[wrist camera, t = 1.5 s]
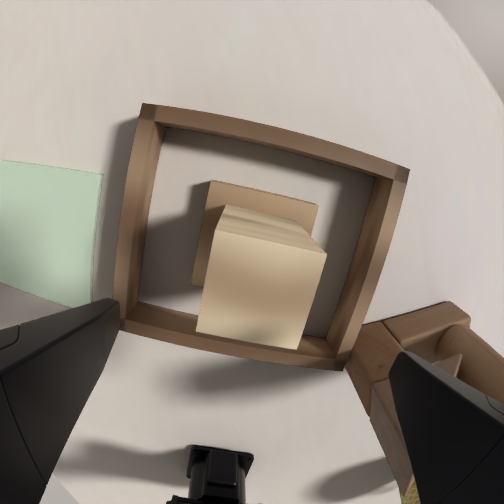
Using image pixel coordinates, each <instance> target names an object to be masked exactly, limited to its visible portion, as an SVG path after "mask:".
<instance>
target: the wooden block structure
mask: <svg viewBox="0 0 504 504" xmlns="http://www.w3.org/2000/svg"><path fill="white" fill-rule="evenodd" d="M470 321H471V318H470V316H469V315H468V314H467V313H465V312H464V311H463V310H462V309H460V308H459V307H458V306H456V305H455V304H454V303H452V302H450V301H448V302H445V303H442V304H438V305H435V306H432V307H429V308H425V309H422V310H419V311H415V312H412V313H409V314H405V315H402V316H398V317H394V318H391V319H387V320H384V321H383V324H382V322H375V323H371V324H367V325H363V326H361V329H360V331H359V334H358V336H357V339H356V341H355V343H354V346H353V348H352V351H351V353H350V355H349V358H348V360H347V362H346V364H345V368H346V370H347V372H348V374H349V376H350V378H351V380H352V383H353V385H354V387H355V389H356V391H357V393H358V396H359V398H360V400H361V402H362V404H363V406H364V409H365V411H366V413H367V415H368V416H369V417H370V422H371V424H372V426H373V429H374V431H375V433H376V435H377V438H378V440H379V442H380V444H381V447H382V449H383V451H384V453H385V456H386V458H387V460H388V463H389V465H390V467H391V470H392V472H393V474H394V477H395V479H396V481H397V484H398V486H399V488H400V491H401V493H402V495H403V496H406V495H407V493H408V492H409V490H410V488H411V486H412V484H413V483H414V481H415V479H414V475H413V471H412V467H411V463H410V460H409V456H408V452H407V449H406V445H405V442H404V438H403V435H402V431H401V428H400V425H399V421H398V418H397V414H396V410H395V406H394V401H393V396H392V391H391V386H390V382H389V376H388V375H389V370H390V368H391V366H392V364H393V362H394V361H395V359H396V357H397V355H398V353H399V352H401V351H408V352H412V353H414V354H416V355H417V356H419V357H421V358H423V359H424V360H426V361H428V362H429V363H431V364H433V365H435V366H436V367H438V368H440V369H442V370H443V371H445V372H447V373H449V374H450V375H452V376H454V377H456V378H457V379H459V380H461V381H463V382H464V383H466V384H468V385H470V386H471V387H473V388H475V389H477V390H478V391H480V392H482V393H484V394H485V395H487V396H489V397H491V398H492V399H494V400H496V401H498V402H500V403H501V404H503V405H504V358H503V357H502V356H501V355H500V354H499V353H498V352H496V351H495V350H494V349H493V348H492V347H491V346H490V345H489V344H487V343H486V342H485V341H484V340H483V339H482V338H480V337H479V336H478V335H477V334H476V333H475V332H473V331H472V330H471V329H470ZM439 361H440V362H439ZM436 362H437V363H436Z"/></svg>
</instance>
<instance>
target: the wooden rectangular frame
mask: <svg viewBox="0 0 504 504" xmlns="http://www.w3.org/2000/svg"><path fill="white" fill-rule="evenodd" d="M166 127H171V128H178V129H184V130H189V131H195V132H201V133H206V134H211V135H217V136H222V137H227V138H232V139H236V140H241V141H246V142H250V143H255V144H259V145H263V146H268V147H272V148H276V149H280V150H284V151H288V152H292V153H296V154H299V155H303V156H307V157H311V158H314V159H318V160H321V161H325V162H328V163H332V164H335V165H338V166H342V167H345V168H348V169H352V170H355V171H358V172H361V173H364V174H367V175H370V176H373V177H375V181H374V185H373V189H372V193H371V197H370V201H369V205H368V208H367V212H366V216H365V219H364V223H363V226H362V230H361V233H360V237H359V240H358V244H357V247H356V250H355V254H354V257H353V260H352V263H351V267H350V270H349V273H348V276H347V279H346V282H345V285H344V288H343V291H342V294H341V297H340V300H339V303H338V306H337V309H336V312H335V314H334V317H333V320H332V323H331V326H330V328H329V331H328V334H327V336H326V339H325V338H319V337H312V336H305V335H302V336H301V339H300V342H299V344H298V347H297V350H296V349H289V348H282V347H276V346H270V345H264V344H258V343H252V342H247V341H241V340H236V339H231V338H226V337H220V336H215V335H211V334H206V333H201V332H196V327H197V322H198V315H193V314H189V313H184V312H180V311H175V310H171V309H167V308H162V307H158V306H154V305H150V304H146V303H142V302H138V292H139V282H140V273H141V264H142V256H143V249H144V241H145V234H146V227H147V221H148V214H149V208H150V202H151V196H152V191H153V185H154V180H155V175H156V169H157V164H158V160H159V155H160V150H161V145H162V141H163V136H164V132H165V128H166ZM409 171H410V169H408V168H405V167H402V166H400V165H397V164H395V163H392V162H389V161H386V160H384V159H381V158H378V157H375V156H372V155H369V154H366V153H364V152H361V151H358V150H354V149H351V148H348V147H345V146H342V145H339V144H336V143H332V142H329V141H326V140H322V139H319V138H315V137H312V136H308V135H305V134H301V133H297V132H293V131H290V130H286V129H282V128H278V127H274V126H269V125H265V124H261V123H257V122H252V121H248V120H243V119H238V118H233V117H228V116H223V115H218V114H213V113H207V112H201V111H195V110H189V109H183V108H176V107H169V106H162V105H154V104H146V103H142V107H141V111H140V115H139V119H138V123H137V128H136V132H135V137H134V141H133V146H132V151H131V156H130V161H129V166H128V172H127V177H126V183H125V189H124V196H123V202H122V209H121V216H120V224H119V232H118V241H117V250H116V260H115V272H114V286H113V299H114V300H117V301H119V302H120V326H119V330H122V331H125V332H129V333H133V334H137V335H140V336H144V337H148V338H152V339H156V340H160V341H164V342H168V343H173V344H177V345H181V346H186V347H190V348H195V349H200V350H205V351H210V352H215V353H220V354H225V355H230V356H236V357H241V358H247V359H253V360H259V361H265V362H272V363H278V364H285V365H292V366H300V367H308V368H316V369H325V370H335V371H343V369H344V367H345V364H346V362H347V360H348V358H349V355H350V353H351V351H352V348H353V346H354V343H355V341H356V339H357V336H358V334H359V331H360V329H361V326H362V324H363V321H364V319H365V316H366V313H367V311H368V308H369V305H370V303H371V300H372V297H373V294H374V292H375V289H376V286H377V283H378V280H379V277H380V274H381V271H382V268H383V265H384V262H385V259H386V256H387V253H388V250H389V246H390V243H391V240H392V236H393V233H394V230H395V226H396V223H397V219H398V215H399V212H400V208H401V204H402V200H403V196H404V192H405V188H406V184H407V180H408V176H409ZM226 205H231V206H235V207H240V208H244V209H249V210H253V211H258V212H262V213H267V214H271V215H275V216H280V217H284V218H288V219H293V220H296V221H297V222H298V223H299V224H300V226H301V227H302V228H303V229H304V230H305V231H306V232H307V233H308V234H309V235H310V236H311V233H312V229H313V226H314V222H315V218H316V214H317V210H318V207H319V206H318V205H316V204H314V203H311V202H307V201H303V200H299V199H295V198H291V197H287V196H283V195H278V194H274V193H270V192H266V191H261V190H257V189H252V188H248V187H244V186H239V185H234V184H230V183H225V182H220V181H216V180H212V181H211V182H210V187H209V192H208V197H207V201H206V206H205V211H204V216H203V221H202V226H201V231H200V236H199V242H198V247H197V252H196V258H195V263H194V269H193V274H192V280H191V285H195V286H200V287H204V284H205V278H206V273H207V268H208V263H209V258H210V253H211V248H212V243H213V238H214V233H215V229H216V227H217V224H218V222H219V220H220V217H221V215H222V213H223V211H224V208H225V206H226Z"/></svg>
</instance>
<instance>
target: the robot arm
mask: <svg viewBox="0 0 504 504" xmlns="http://www.w3.org/2000/svg"><path fill="white" fill-rule="evenodd" d="M119 326H120V302H119V301H117V300H114V299H110V298H105V299H101V300H98V301H95V302H92V303H88V304H85V305H82V306H78V307H75V308H72V309H69V310H65V311H62V312H59V313H55V314H52V315H49V316H46V317H42V318H39V319H36V320H32V321H29V322H26V323H22V324H20V326H19V325H16V326H12V327H9V328H6V329H2V330H0V504H39V503H40V501H41V498H42V496H43V493H44V491H45V488H46V485H47V484H48V481H49V479H50V477H51V474H52V472H53V470H54V468H55V466H56V463H57V461H58V459H59V457H60V455H61V453H62V450H63V448H64V446H65V444H66V442H67V440H68V438H69V436H70V434H71V432H72V430H73V428H74V426H75V424H76V422H77V420H78V418H79V416H80V414H81V412H82V410H83V408H84V406H85V404H86V402H87V400H88V398H89V396H90V394H91V392H92V390H93V388H94V387H95V385H96V383H97V381H98V379H99V377H100V375H101V373H102V371H103V369H104V367H105V364H106V362H107V359H108V356H109V354H110V351H111V349H112V346H113V344H114V341H115V339H116V336H117V334H118V331H119ZM388 376H389V382H390V386H391V391H392V396H393V401H394V406H395V410H396V414H397V418H398V421H399V425H400V428H401V431H402V435H403V438H404V442H405V445H406V449H407V452H408V456H409V460H410V463H411V467H412V471H413V475H414V479H415V483H416V487H417V491H418V495H419V500H420V504H504V405H503V404H501V403H500V402H498V401H496V400H494V399H492V398H491V397H489V396H487V395H485V394H484V393H482V392H480V391H478V390H477V389H475V388H473V387H471V386H470V385H468V384H466V383H464V382H463V381H461V380H459V379H457V378H456V377H454V376H452V375H450V374H449V373H447V372H445V371H443V370H442V369H440V368H438V367H436V366H435V365H433V364H431V363H429V362H428V361H426V360H424V359H423V358H421V357H419V356H417V355H416V354H414V353H412V352H408V351H401V352H399V353H398V355H397V357H396V359H395V361H394V362H393V364H392V366H391V368H390V370H389V375H388ZM253 460H254V456H253V455H252V454H248V453H240V452H232V451H225V450H218V449H212V448H206V447H200V446H192V448H191V453H190V459H189V464H188V470H187V478H189V479H190V485H189V493H188V498H183V497H178V496H176V495H173V497H172V500H171V501H167V502H166V504H246V498H245V478H246V476H247V474H248V471H249V469H250V467H251V465H252V462H253Z"/></svg>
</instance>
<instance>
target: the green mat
mask: <svg viewBox="0 0 504 504" xmlns="http://www.w3.org/2000/svg"><path fill="white" fill-rule="evenodd" d="M102 179H103V174H97V173H91V172H85V171H79V170H72V169H65V168H59V167H52V166H45V165H37V164H30V163H22V162H14V161H6V160H0V282H1V283H4V284H6V285H9V286H11V287H14V288H17V289H19V290H22V291H25V292H27V293H30V294H33V295H36V296H38V297H41V298H44V299H47V300H50V301H53V302H56V303H59V304H62V305H65V306H68V307H71V308H75V307H78V306H82V305H85V304H88V303H92V276H93V259H94V245H95V234H96V224H97V215H98V207H99V199H100V192H101V185H102Z"/></svg>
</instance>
